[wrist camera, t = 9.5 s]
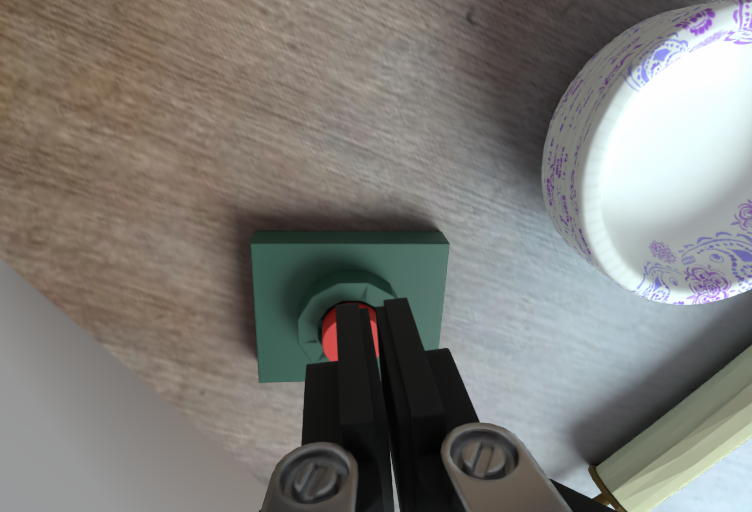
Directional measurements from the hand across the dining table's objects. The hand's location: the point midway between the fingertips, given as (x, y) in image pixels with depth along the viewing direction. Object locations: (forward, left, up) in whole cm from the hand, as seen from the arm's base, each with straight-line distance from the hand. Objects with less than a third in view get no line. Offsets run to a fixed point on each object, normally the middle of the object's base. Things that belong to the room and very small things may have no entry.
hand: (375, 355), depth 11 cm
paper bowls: (+19, +2, -20) cm, 27 cm away
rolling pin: (+30, -16, -20) cm, 40 cm away
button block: (+1, -9, -20) cm, 22 cm away
